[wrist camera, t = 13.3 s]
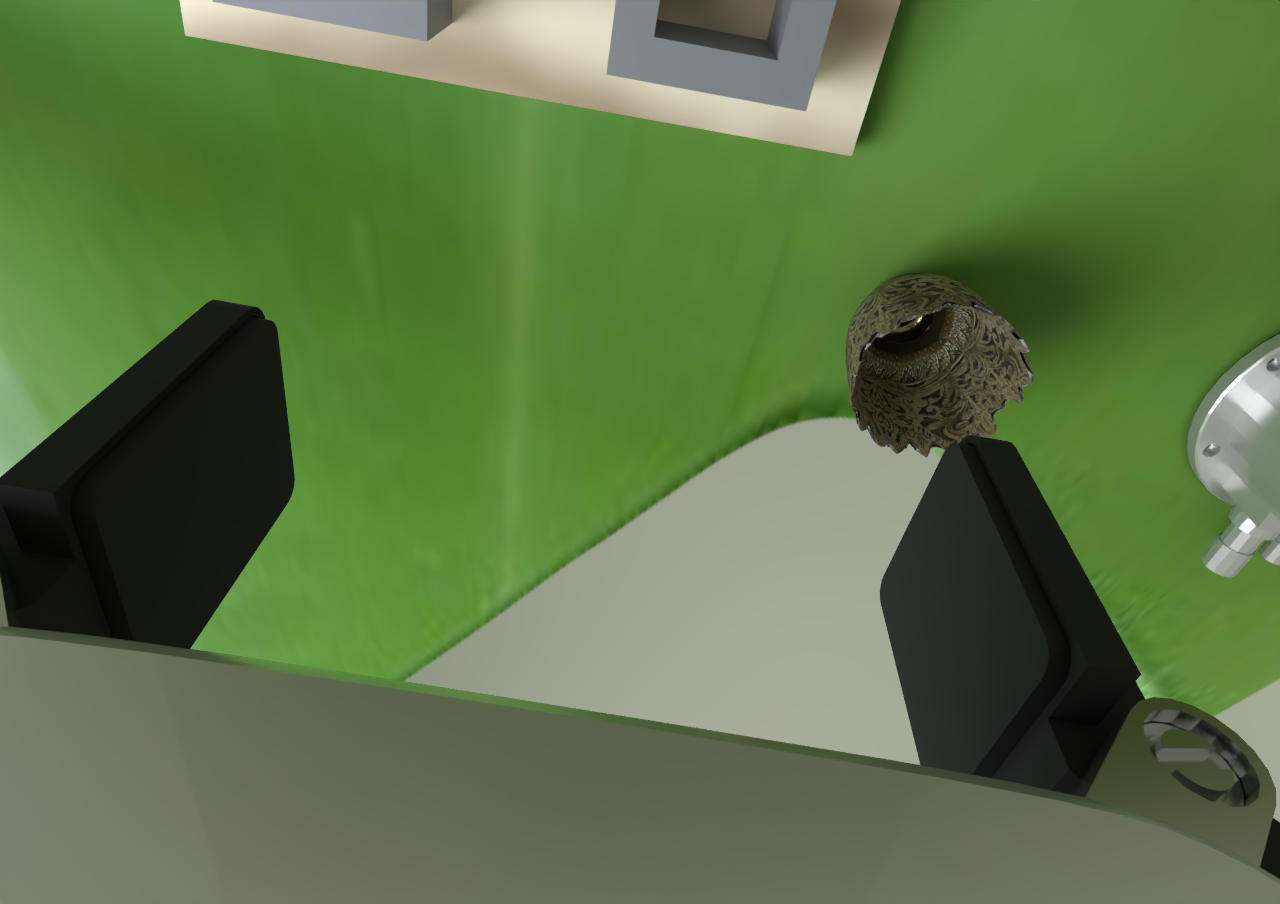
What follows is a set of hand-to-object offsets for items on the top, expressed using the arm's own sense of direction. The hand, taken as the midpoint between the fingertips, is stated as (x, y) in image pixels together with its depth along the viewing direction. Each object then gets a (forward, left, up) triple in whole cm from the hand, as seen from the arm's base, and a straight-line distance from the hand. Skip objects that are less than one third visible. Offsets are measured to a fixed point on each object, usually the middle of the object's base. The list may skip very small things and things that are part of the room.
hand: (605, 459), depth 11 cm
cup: (-9, -14, -28) cm, 33 cm away
